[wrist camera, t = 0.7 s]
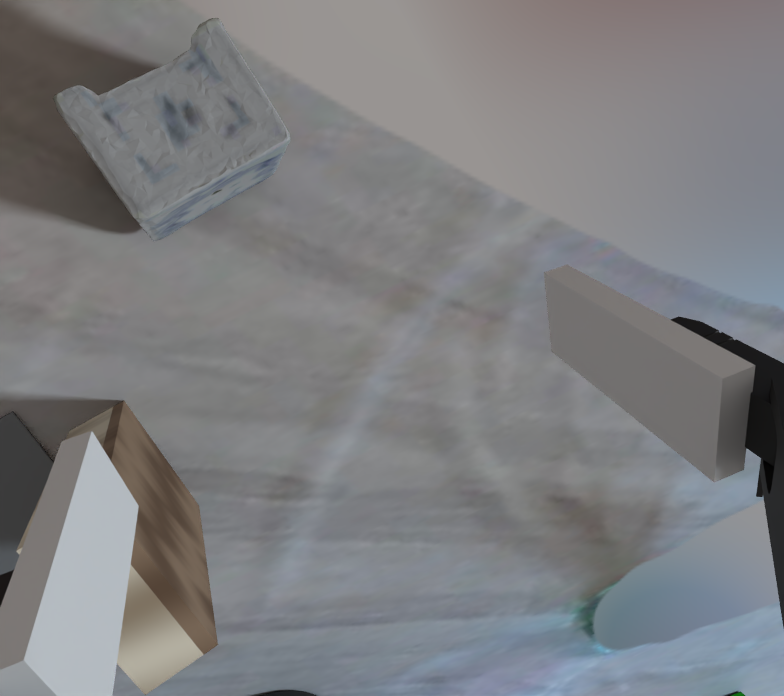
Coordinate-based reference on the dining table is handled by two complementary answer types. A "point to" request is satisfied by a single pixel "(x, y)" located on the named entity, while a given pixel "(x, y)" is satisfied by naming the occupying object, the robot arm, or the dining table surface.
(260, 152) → the incense holder
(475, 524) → the dining table surface
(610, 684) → the dining table surface
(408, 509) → the dining table surface
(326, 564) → the dining table surface
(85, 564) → the robot arm
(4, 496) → the mat
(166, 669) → the birch plank
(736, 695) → the puzzle cube
